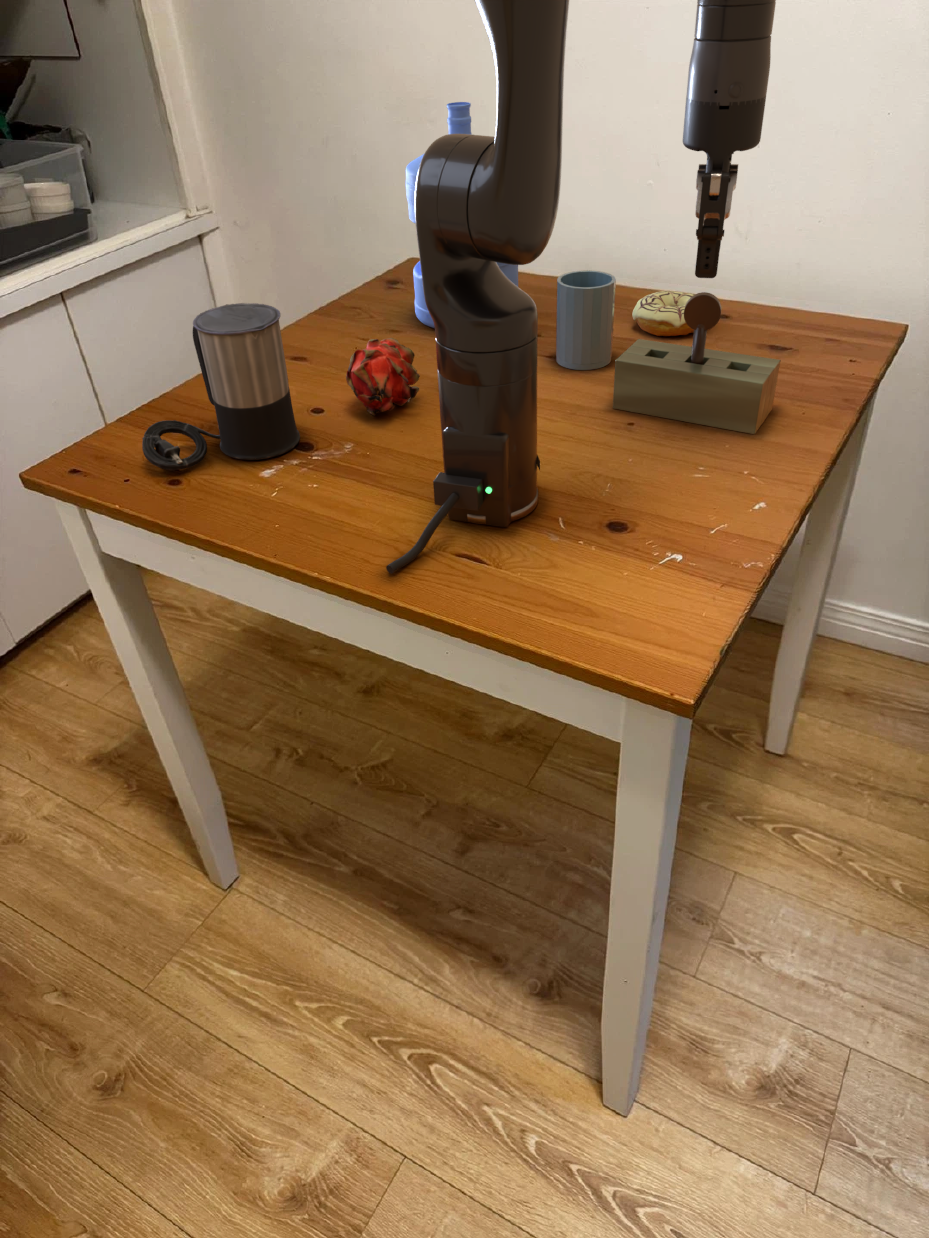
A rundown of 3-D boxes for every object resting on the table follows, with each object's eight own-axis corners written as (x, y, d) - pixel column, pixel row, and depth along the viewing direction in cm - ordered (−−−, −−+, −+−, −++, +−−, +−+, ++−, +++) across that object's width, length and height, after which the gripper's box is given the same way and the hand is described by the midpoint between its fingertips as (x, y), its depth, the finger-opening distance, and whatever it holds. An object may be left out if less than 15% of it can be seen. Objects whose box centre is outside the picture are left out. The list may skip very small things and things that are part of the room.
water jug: (538, 306, 139) (539, 97, 122) (484, 340, 129) (478, 116, 112) (452, 293, 146) (441, 93, 129) (395, 324, 136) (375, 111, 119)
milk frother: (317, 435, 107) (298, 308, 98) (225, 495, 96) (193, 359, 87) (226, 413, 113) (200, 292, 104) (130, 467, 102) (92, 338, 93)
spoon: (709, 407, 108) (723, 292, 100) (708, 412, 107) (723, 296, 99) (674, 405, 109) (686, 291, 101) (673, 410, 108) (685, 295, 100)
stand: (754, 434, 102) (763, 383, 98) (612, 408, 109) (615, 360, 105) (772, 409, 107) (780, 359, 103) (635, 385, 114) (638, 338, 110)
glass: (604, 372, 118) (608, 290, 112) (549, 367, 120) (550, 286, 114) (616, 352, 123) (621, 272, 117) (563, 347, 125) (565, 269, 119)
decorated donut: (618, 330, 130) (620, 303, 127) (658, 308, 136) (660, 282, 134) (683, 344, 124) (686, 317, 122) (721, 321, 130) (725, 295, 128)
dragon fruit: (398, 394, 119) (389, 448, 111) (340, 361, 116) (326, 414, 108) (432, 345, 114) (425, 398, 105) (373, 309, 111) (361, 360, 102)
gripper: (691, 81, 95) (676, 244, 104) (681, 105, 84) (666, 285, 94) (766, 80, 93) (744, 246, 103) (766, 104, 82) (742, 287, 92)
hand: (707, 264), depth 98 cm, fingers open, 8 cm apart
